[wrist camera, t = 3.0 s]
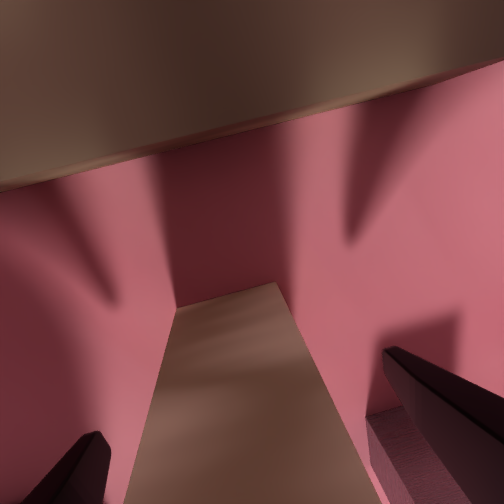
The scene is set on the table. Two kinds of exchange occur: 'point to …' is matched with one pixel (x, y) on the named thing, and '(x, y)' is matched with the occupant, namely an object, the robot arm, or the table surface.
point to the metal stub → (408, 462)
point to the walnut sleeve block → (210, 69)
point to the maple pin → (244, 414)
